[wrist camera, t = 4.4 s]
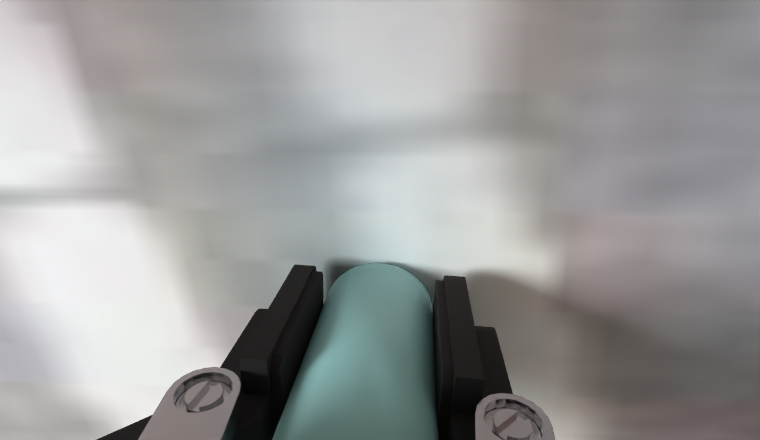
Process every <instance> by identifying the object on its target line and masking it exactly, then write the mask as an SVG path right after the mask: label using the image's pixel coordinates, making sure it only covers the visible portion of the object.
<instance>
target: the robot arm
mask: <svg viewBox="0 0 760 440" xmlns="http://www.w3.org/2000/svg"><path fill="white" fill-rule="evenodd" d="M322 308H323V273H322V272H318V271H316V267H315V266H306V265H294V266H293V268H292V270H291V271H290V273H289V275H288V276H287V278H286V280H285V282H284V283H283V285H282V287H281V288H280V290H279V292H278V293H277V295H276V297H275V298H274V300H273V302H272V303H271V305H270V307H269V309H258V310H257V311H256V312H255V314H254V315H253V317H252V318H251V320H250V321H249V323H248V325H247V326H246V328H245V329H244V331H243V332H242V334H241V336H240V337H239V339H238V340H237V342H236V343H235V345H234V347H233V348H232V350H231V351H230V353H229V354H228V356H227V358H226V359H225V361H224V362H223V364H222V365H221V367H220V368H218V367H211V368H203V369H199V370H196V371H193V372H190V373H188V374H186V375H184V376H182V377H181V378H180V379H178V380H177V381H176V382H174V383H173V385H172V386H171V387H170V388H169V389H168V391H167V392H166V394H165V396H164V397H163V399H162V401H161V402H160V404H159V406H158V407H157V409H156V410H155V412H154V414H153V415H151V416H149V417H147V418H144V419H142V420H140V421H138V422H135V423H133V424H131V425H129V426H126V427H124V428H122V429H120V430H117V431H115V432H113V433H110V434H108V435H106V436H104V437H101V438H99V439H97V440H272V439H273V436H274V434H275V431H276V428H277V426H278V423H279V421H280V418H281V415H282V413H283V410H284V408H285V405H286V402H287V400H288V397H289V394H290V392H291V389H292V387H293V384H294V381H295V379H296V376H297V374H298V371H299V368H300V366H301V363H302V361H303V358H304V355H305V353H306V350H307V347H308V345H309V342H310V340H311V337H312V334H313V332H314V329H315V327H316V324H317V321H318V319H319V316H320V314H321V311H322ZM433 338H434V360H435V382H436V404H437V426H438V438H439V440H555V437H554V432H553V428H552V425H551V423H550V420H549V418H548V417H547V415H546V414H545V413H544V412H543V410H542V409H541V408H539V407H538V406H537V405H535V404H534V403H533V402H531V401H529V400H527V399H525V398H523V397H520V396H517V395H513V393H512V390H511V386H510V382H509V379H508V375H507V371H506V367H505V364H504V360H503V356H502V353H501V349H500V345H499V341H498V338H497V334H496V331H495V328H493V327H482V326H474V321H473V316H472V311H471V305H470V300H469V295H468V290H467V285H466V280H465V277H457V276H444V279H443V281H440V280H436V284H435V294H434V305H433Z"/></svg>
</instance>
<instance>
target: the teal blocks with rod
mask: <svg viewBox="0 0 760 440" xmlns="http://www.w3.org/2000/svg"><path fill="white" fill-rule="evenodd" d="M272 440H439V438H438V426H437V404H436V382H435V360H434V338H433V309H432V303H431V299H430V296H429V294H428V292H427V290H426V289H425V287H424V286H423V284H422V283H421V282H420V281H419V280H418V279H417V278H416V277H415V276H413V275H412V274H411V273H409V272H407V271H406V270H404V269H402V268H399V267H397V266H393V265H389V264H383V263H370V264H363V265H359V266H356V267H354V268H352V269H350V270H348V271H346V272H345V273H343V274H342V275H341V276H340V277H339V278H338V279H337V280H336V281H335V282H334V283H333V285H332V286H331V288H330V290H329V293H328V295H327V298H326V300H325V303H324V306H323V308H322V311H321V314H320V316H319V319H318V321H317V324H316V327H315V329H314V332H313V334H312V337H311V340H310V342H309V345H308V347H307V350H306V353H305V355H304V358H303V361H302V363H301V366H300V368H299V371H298V374H297V376H296V379H295V381H294V384H293V387H292V389H291V392H290V394H289V397H288V400H287V402H286V405H285V408H284V410H283V413H282V415H281V418H280V421H279V423H278V426H277V428H276V431H275V434H274V436H273V439H272Z"/></svg>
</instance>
